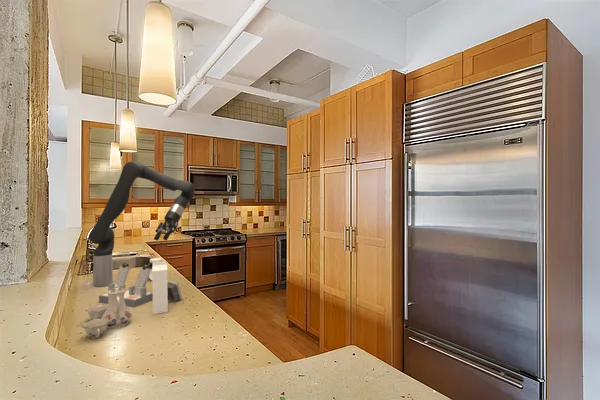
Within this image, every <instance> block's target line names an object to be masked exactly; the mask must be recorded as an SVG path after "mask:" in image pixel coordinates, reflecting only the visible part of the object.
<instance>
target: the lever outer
mask: <svg viewBox="0 0 600 400" xmlns="http://www.w3.org/2000/svg"><path fill="white" fill-rule="evenodd" d="M150 270H151V269H149V266H148V264H144V265H142V267H140V268H139V272H138V275H137V278H136V280H135V284H134V286H135V287H134V290H133V293H138V294H140V288H143V287H147V282H148V281H149V278H148V277H149V273H150Z"/></svg>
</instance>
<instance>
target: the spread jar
mask: <svg viewBox="0 0 600 400" xmlns="http://www.w3.org/2000/svg"><path fill="white" fill-rule="evenodd" d="M153 262H163V261H162V258H160V257H157V258H151V259H149V263H148V264H147V265H148V266H149V269H151V270H150V273H149V277H148V279H149V280H151V281H152V263H153Z"/></svg>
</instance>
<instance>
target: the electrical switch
mask: <svg viewBox="0 0 600 400" xmlns="http://www.w3.org/2000/svg"><path fill="white" fill-rule="evenodd" d="M167 294H168V301H170V302H174V303H176V302H177V301H182V300H183V296H182V293H181V290H180V286H179V284H178V282H175V281H170V280H167Z"/></svg>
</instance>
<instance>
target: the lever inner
mask: <svg viewBox="0 0 600 400" xmlns="http://www.w3.org/2000/svg"><path fill="white" fill-rule="evenodd" d="M130 269H131V267H130V264H129V263H128V262H124V263H122V265H120V266H119V268H118V272H117V275H116V277H115V280H114V282H113V283H114V286H115V285H116V284H117V285H118V287H119V286H120V285H125V286H126V281H127V279H128V275H129V273H130ZM114 286H113V287H114Z"/></svg>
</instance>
